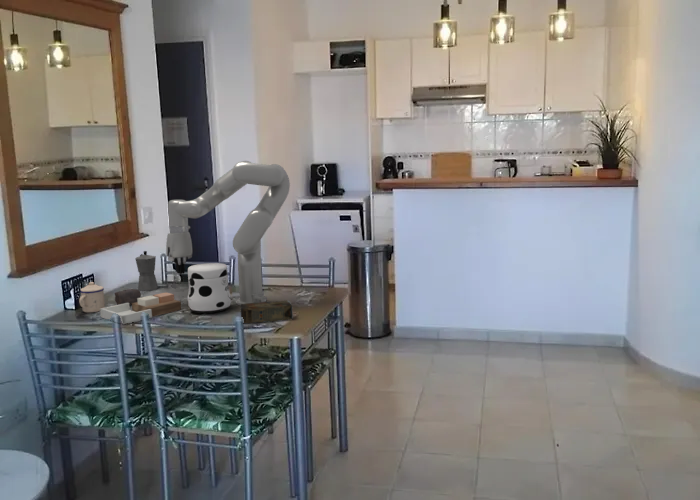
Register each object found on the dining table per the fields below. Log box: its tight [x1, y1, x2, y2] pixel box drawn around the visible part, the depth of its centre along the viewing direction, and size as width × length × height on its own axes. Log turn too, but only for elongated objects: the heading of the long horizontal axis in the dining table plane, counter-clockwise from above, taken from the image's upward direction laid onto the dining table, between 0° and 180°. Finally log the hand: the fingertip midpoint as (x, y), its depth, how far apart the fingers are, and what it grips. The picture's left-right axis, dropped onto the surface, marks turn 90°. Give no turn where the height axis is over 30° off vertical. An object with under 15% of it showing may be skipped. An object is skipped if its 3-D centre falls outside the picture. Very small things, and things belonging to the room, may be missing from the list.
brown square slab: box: [131, 299, 182, 318], centre depth 266 cm, size 14×14×4 cm
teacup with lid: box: [78, 281, 106, 313], centre depth 268 cm, size 12×9×12 cm
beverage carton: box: [240, 299, 293, 324], centre depth 249 cm, size 8×19×7 cm, turn 104°
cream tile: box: [137, 295, 159, 307], centre depth 263 cm, size 6×6×2 cm
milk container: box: [186, 262, 232, 314], centre depth 264 cm, size 17×17×18 cm
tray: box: [99, 303, 153, 324], centre depth 257 cm, size 18×12×4 cm, turn 47°
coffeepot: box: [135, 250, 159, 292], centre depth 308 cm, size 15×9×18 cm, turn 32°
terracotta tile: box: [152, 292, 175, 303], centre depth 268 cm, size 6×6×2 cm
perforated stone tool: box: [114, 288, 142, 306], centre depth 278 cm, size 15×5×7 cm, turn 156°
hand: (180, 273), depth 274 cm, fingers closed
